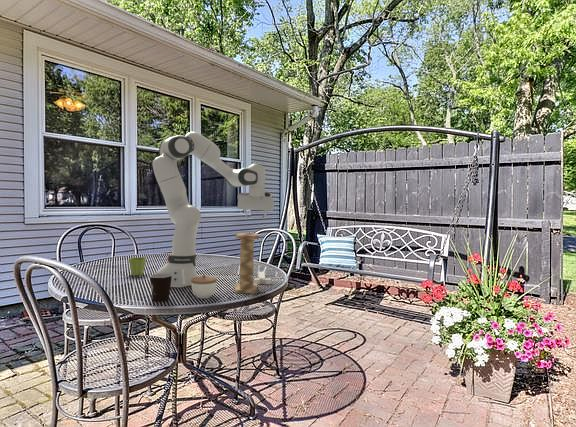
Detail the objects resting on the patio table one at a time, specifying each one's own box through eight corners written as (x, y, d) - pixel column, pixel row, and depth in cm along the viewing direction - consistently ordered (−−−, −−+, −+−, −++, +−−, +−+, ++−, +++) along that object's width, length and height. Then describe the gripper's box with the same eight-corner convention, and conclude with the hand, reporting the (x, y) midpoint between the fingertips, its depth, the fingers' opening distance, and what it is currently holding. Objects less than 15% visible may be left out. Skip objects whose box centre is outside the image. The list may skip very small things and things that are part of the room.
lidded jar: (201, 292, 163) (202, 271, 163) (221, 295, 159) (221, 274, 158) (185, 297, 154) (185, 275, 153) (206, 301, 149) (206, 278, 149)
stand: (234, 293, 163) (236, 235, 162) (235, 286, 175) (237, 232, 175) (257, 293, 164) (258, 235, 163) (256, 286, 176) (257, 233, 176)
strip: (254, 284, 182) (254, 279, 182) (254, 276, 202) (254, 271, 201) (270, 284, 183) (270, 279, 182) (268, 276, 202) (268, 271, 202)
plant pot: (123, 275, 194) (124, 259, 193) (136, 272, 203) (136, 256, 202) (138, 277, 191) (138, 260, 191) (150, 273, 200) (150, 258, 200)
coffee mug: (169, 302, 146) (170, 277, 146) (147, 302, 145) (147, 277, 145) (174, 294, 158) (174, 271, 158) (153, 295, 157) (153, 272, 156)
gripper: (237, 192, 198) (236, 217, 198) (275, 194, 200) (273, 219, 200) (237, 192, 204) (236, 217, 204) (274, 194, 207) (272, 219, 207)
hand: (255, 218), depth 202 cm, fingers open, 8 cm apart
